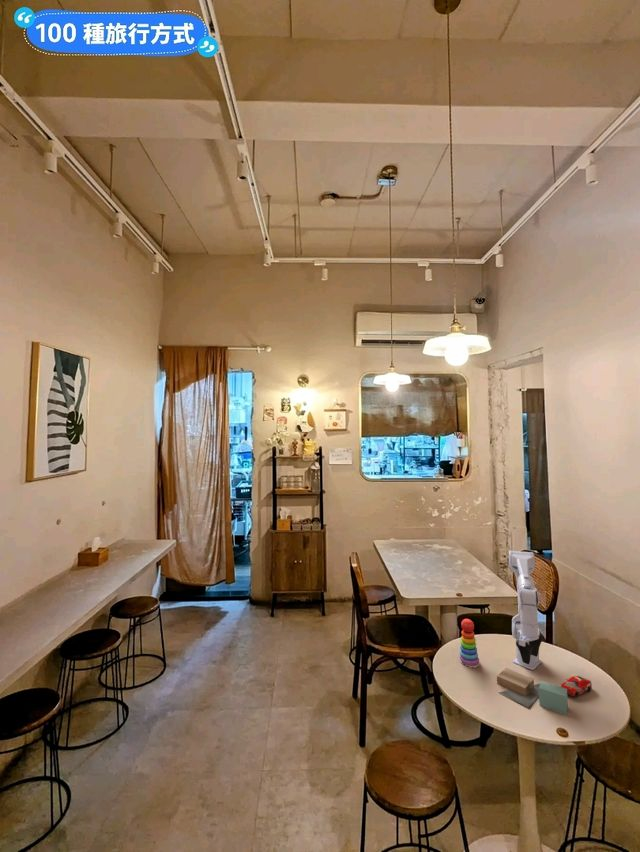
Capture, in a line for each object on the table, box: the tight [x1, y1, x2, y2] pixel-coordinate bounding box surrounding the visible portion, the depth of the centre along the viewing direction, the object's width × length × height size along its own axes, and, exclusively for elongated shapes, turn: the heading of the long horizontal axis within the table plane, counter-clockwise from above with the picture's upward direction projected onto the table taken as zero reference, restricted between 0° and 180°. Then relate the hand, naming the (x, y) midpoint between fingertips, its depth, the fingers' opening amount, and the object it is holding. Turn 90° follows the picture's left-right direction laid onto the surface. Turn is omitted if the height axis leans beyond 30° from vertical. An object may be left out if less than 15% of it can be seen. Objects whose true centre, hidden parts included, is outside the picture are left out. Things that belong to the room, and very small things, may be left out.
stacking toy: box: [459, 618, 480, 668], centre depth 162 cm, size 8×8×19 cm
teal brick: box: [538, 680, 569, 715], centre depth 137 cm, size 5×8×6 cm, turn 54°
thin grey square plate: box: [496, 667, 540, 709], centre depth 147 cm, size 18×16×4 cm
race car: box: [560, 675, 593, 698], centre depth 144 cm, size 13×5×4 cm, turn 116°
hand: (530, 659), depth 147 cm, fingers open, 7 cm apart
